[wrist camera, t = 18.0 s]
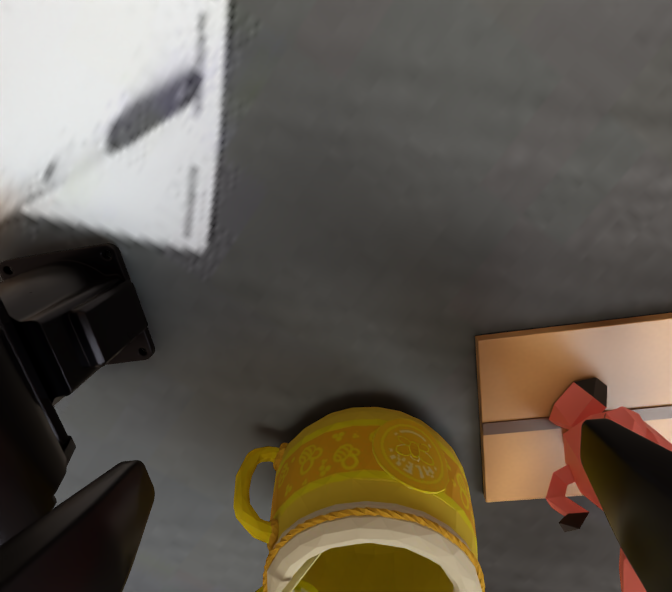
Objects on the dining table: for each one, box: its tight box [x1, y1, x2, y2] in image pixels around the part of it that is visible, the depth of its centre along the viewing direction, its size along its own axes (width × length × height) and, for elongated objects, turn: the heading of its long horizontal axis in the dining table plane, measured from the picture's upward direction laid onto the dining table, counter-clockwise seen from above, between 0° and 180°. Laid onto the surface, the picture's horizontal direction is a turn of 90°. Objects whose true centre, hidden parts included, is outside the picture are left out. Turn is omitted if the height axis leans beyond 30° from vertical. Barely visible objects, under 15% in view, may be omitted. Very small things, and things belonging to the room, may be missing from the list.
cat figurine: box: [546, 377, 672, 592], centre depth 16 cm, size 7×7×12 cm
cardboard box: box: [475, 313, 672, 502], centre depth 22 cm, size 11×11×1 cm
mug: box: [234, 407, 485, 592], centre depth 19 cm, size 13×11×12 cm
